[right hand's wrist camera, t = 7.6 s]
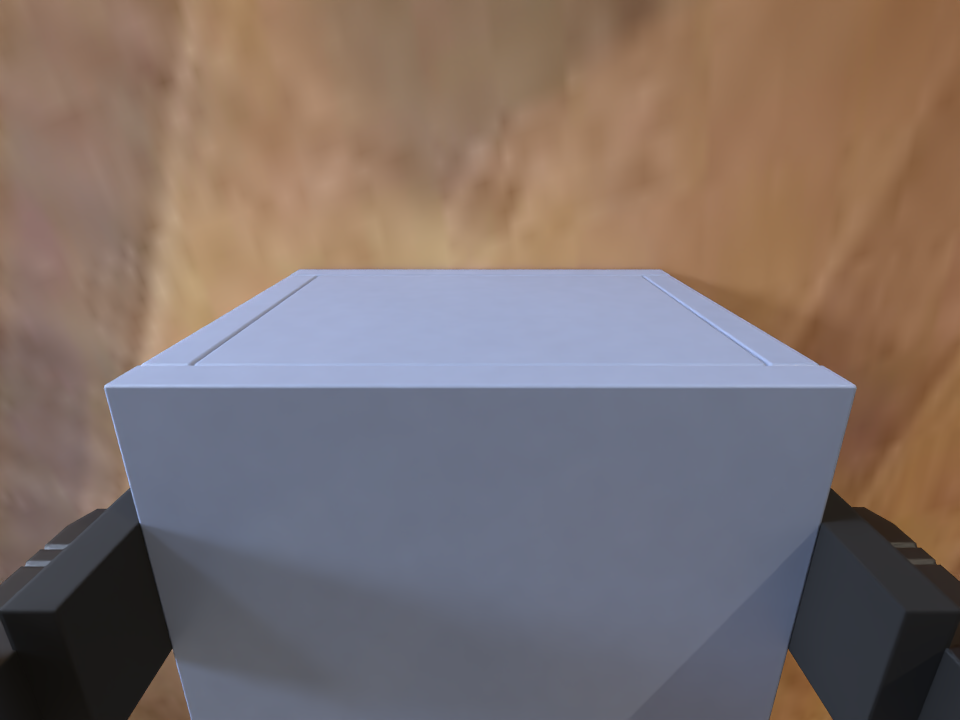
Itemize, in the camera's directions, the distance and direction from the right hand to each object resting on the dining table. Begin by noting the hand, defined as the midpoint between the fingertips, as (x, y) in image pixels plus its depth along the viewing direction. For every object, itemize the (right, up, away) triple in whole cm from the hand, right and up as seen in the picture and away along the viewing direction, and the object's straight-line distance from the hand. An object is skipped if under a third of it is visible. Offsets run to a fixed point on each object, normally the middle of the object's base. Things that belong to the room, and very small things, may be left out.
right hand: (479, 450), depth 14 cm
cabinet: (0, -4, +6) cm, 7 cm away
